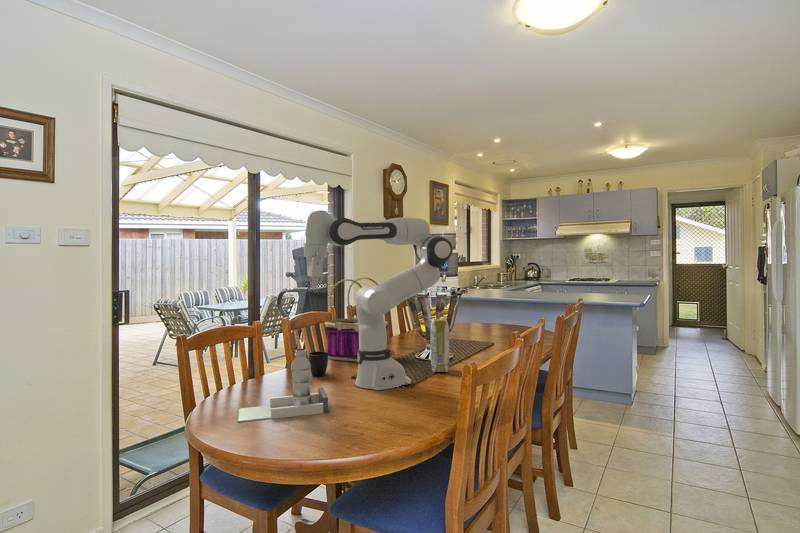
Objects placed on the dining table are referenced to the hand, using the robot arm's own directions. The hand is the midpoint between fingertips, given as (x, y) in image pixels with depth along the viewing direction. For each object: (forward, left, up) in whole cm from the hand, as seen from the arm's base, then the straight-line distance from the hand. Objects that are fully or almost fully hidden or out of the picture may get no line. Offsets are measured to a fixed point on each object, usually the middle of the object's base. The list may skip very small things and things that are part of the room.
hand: (313, 289), depth 174 cm
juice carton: (-56, -10, -39) cm, 69 cm away
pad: (+22, +21, -39) cm, 49 cm away
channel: (+8, +21, -39) cm, 45 cm away
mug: (-5, -22, -39) cm, 45 cm away
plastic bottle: (+7, +21, -39) cm, 45 cm away
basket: (-27, -48, -39) cm, 68 cm away
